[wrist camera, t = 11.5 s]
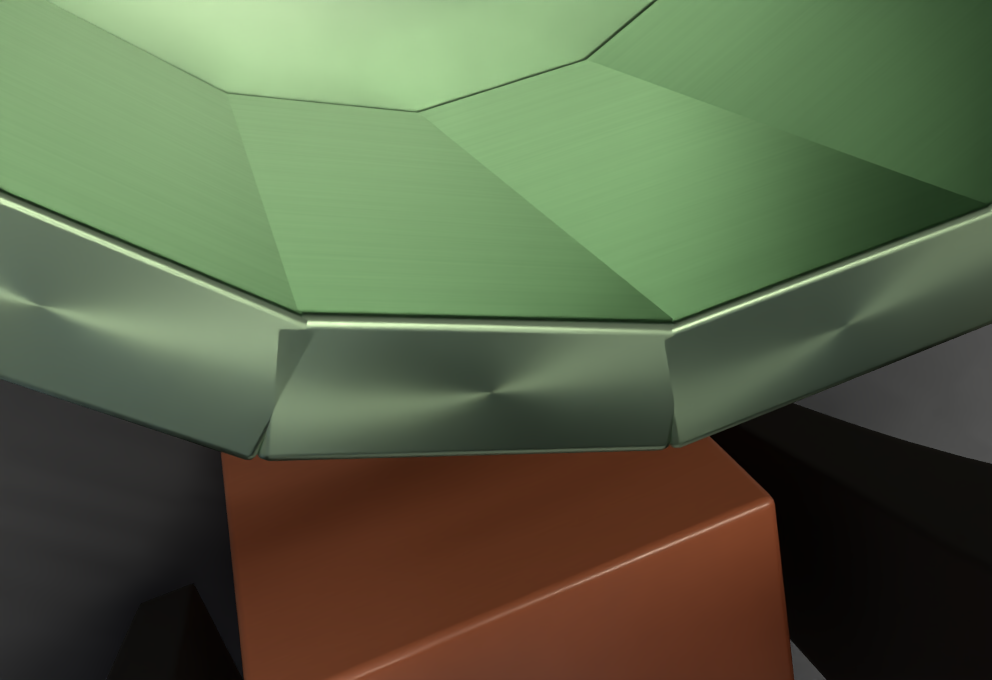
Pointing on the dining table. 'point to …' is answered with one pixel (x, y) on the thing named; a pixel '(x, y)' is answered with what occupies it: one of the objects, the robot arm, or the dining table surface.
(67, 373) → the tin
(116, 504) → the dining table surface
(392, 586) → the block
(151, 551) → the dining table surface
